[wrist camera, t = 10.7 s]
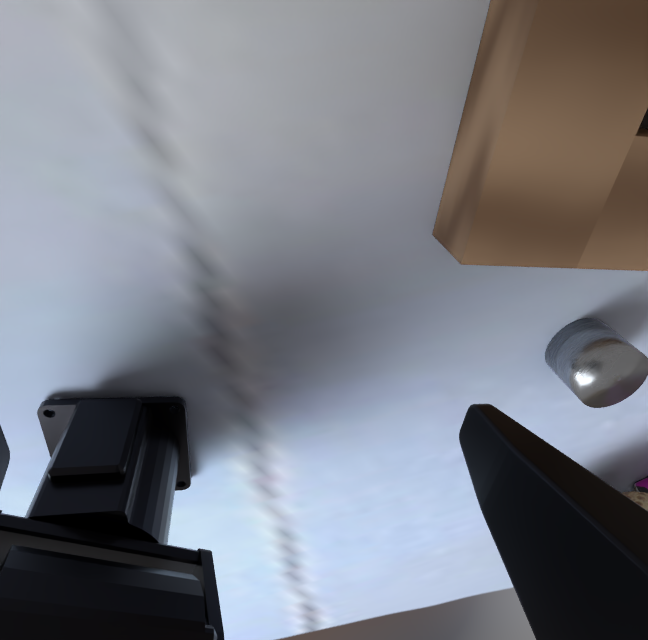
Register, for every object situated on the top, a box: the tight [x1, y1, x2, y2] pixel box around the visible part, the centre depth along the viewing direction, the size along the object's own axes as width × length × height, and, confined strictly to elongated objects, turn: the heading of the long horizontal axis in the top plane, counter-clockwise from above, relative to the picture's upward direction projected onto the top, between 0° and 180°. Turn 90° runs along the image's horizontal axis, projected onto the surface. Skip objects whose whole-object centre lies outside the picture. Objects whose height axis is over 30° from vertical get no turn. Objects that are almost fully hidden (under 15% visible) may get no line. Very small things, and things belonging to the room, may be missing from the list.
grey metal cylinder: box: [545, 318, 648, 408], centre depth 23 cm, size 4×4×3 cm
